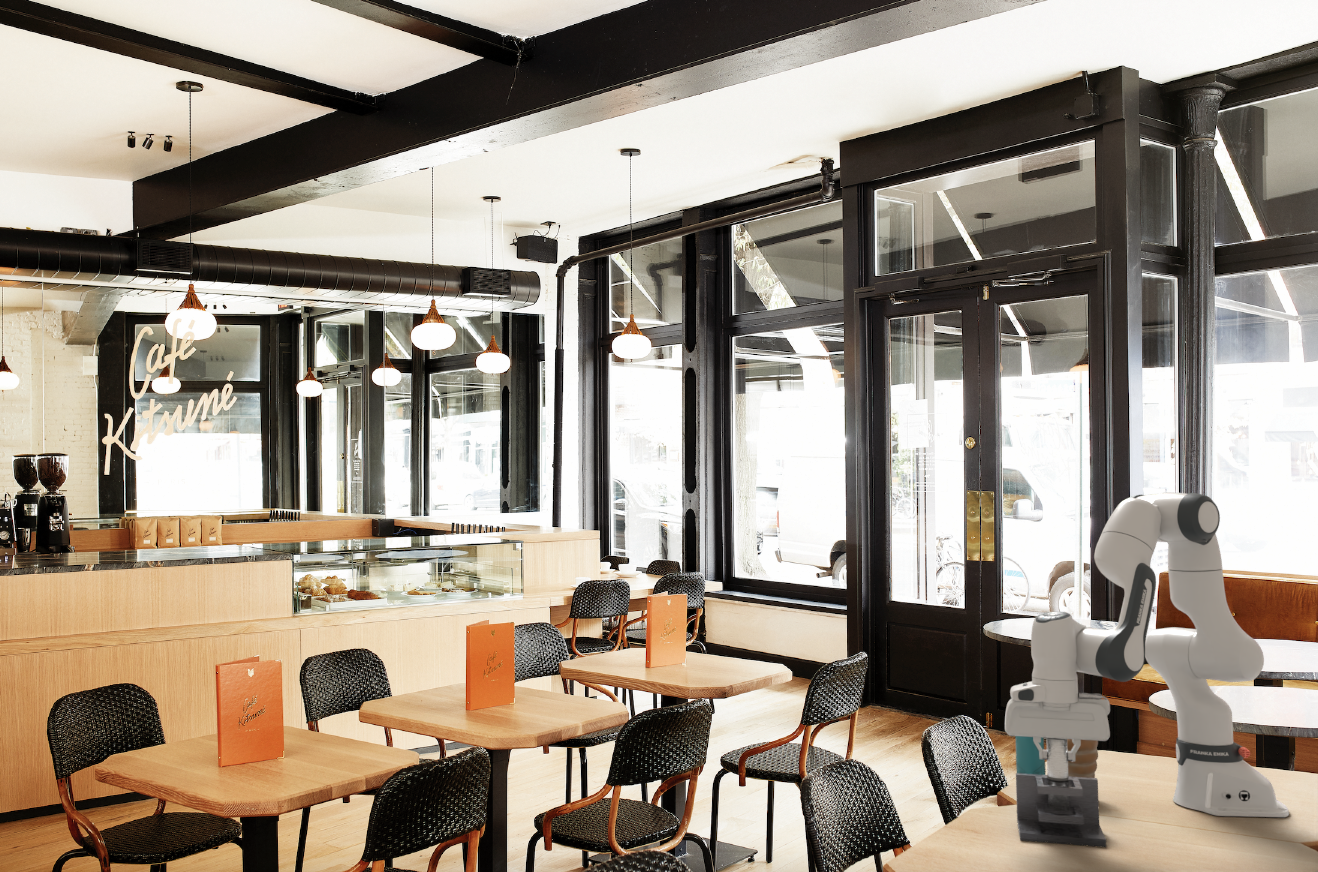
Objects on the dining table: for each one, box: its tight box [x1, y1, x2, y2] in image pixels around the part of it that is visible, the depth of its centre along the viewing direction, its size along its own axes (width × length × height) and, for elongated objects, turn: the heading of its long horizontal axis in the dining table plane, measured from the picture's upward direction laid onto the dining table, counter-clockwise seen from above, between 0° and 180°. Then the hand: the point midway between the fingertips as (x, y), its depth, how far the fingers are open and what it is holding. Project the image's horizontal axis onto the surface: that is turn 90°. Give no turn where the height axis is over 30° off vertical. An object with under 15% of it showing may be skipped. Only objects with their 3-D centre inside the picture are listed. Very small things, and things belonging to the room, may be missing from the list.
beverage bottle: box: [1014, 736, 1047, 775], centre depth 233 cm, size 6×7×20 cm
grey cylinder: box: [1045, 738, 1069, 811], centre depth 209 cm, size 4×4×14 cm
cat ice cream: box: [1067, 739, 1099, 778], centre depth 237 cm, size 9×8×18 cm
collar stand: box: [1015, 772, 1107, 848], centre depth 209 cm, size 16×12×10 cm
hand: (1057, 759), depth 209 cm, fingers closed on grey cylinder, 4 cm apart
